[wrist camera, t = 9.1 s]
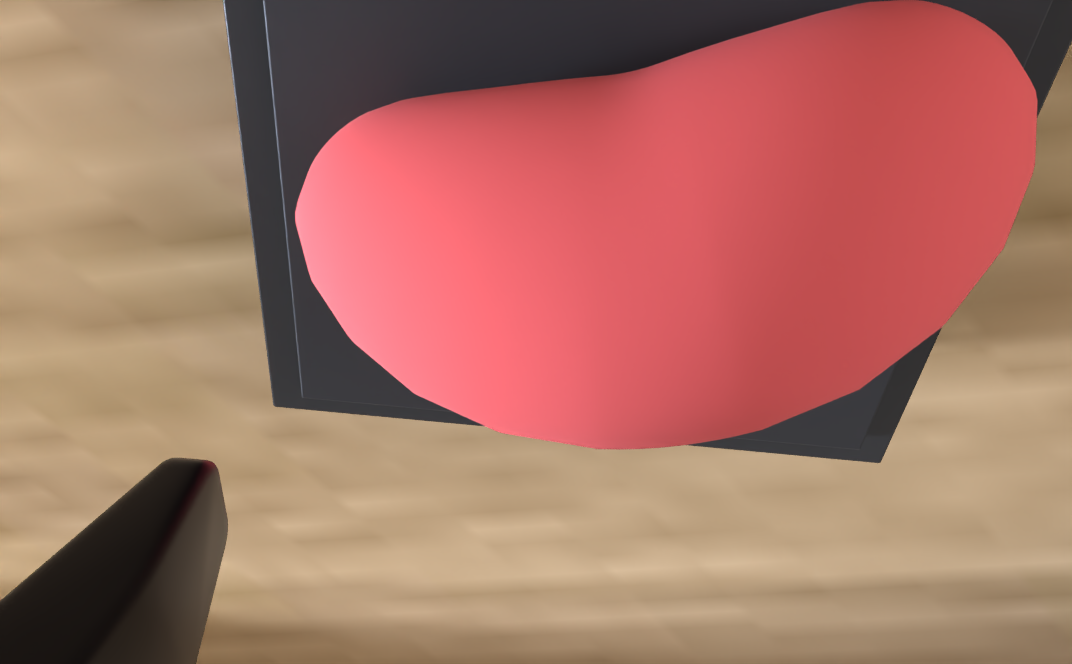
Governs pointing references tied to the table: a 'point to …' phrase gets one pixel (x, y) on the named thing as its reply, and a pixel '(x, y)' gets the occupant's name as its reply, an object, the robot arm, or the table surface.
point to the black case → (486, 62)
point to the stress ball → (678, 226)
